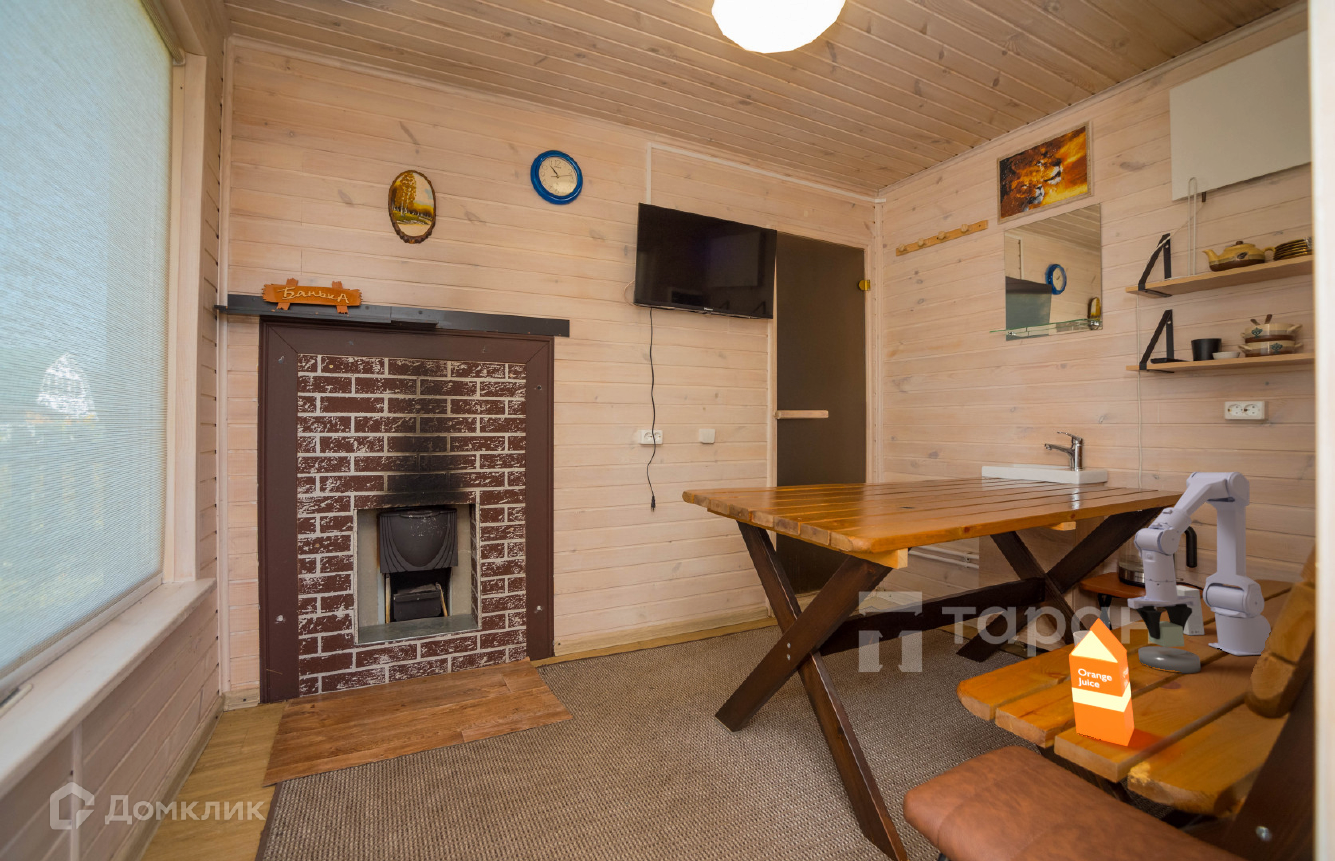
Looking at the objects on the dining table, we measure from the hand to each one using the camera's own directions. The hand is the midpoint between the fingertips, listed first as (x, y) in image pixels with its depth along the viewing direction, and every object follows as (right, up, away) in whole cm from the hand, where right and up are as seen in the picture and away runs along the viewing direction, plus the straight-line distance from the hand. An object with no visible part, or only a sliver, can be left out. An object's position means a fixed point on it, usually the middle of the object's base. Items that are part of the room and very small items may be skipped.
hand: (1166, 637), depth 137 cm
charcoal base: (0, -6, 0) cm, 6 cm away
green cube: (0, -2, 0) cm, 2 cm away
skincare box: (+23, -6, +21) cm, 32 cm away
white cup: (-21, -8, -6) cm, 23 cm away
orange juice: (-36, -8, -29) cm, 47 cm away
